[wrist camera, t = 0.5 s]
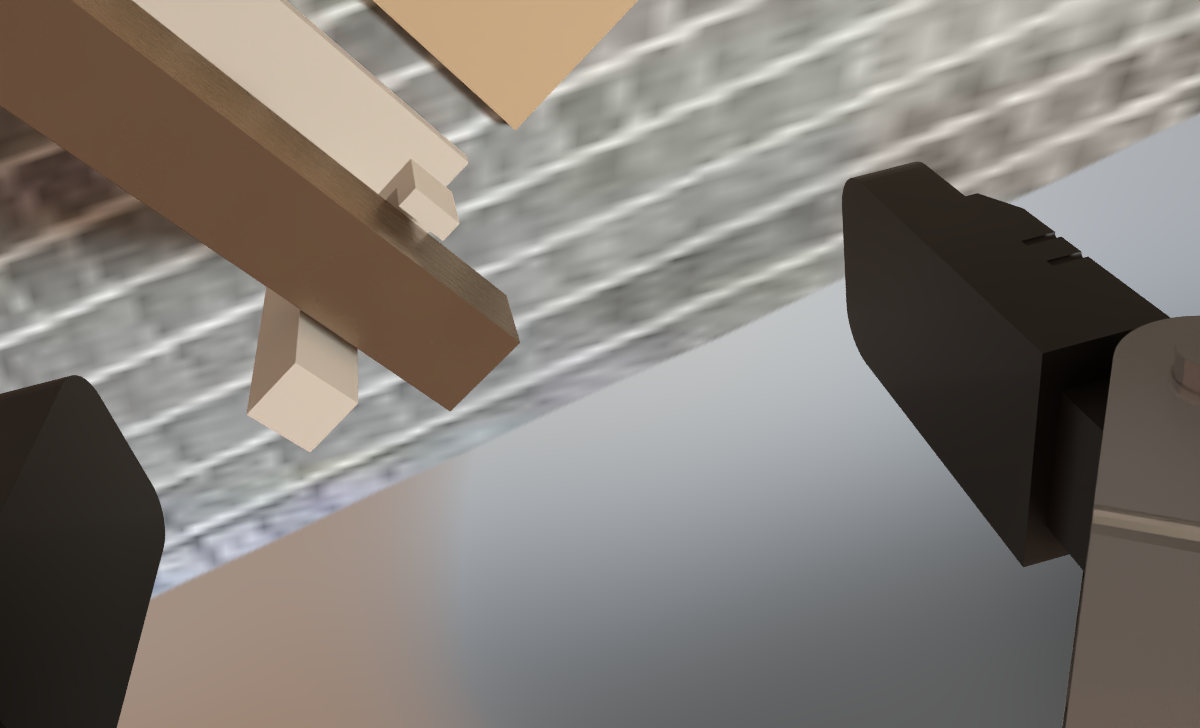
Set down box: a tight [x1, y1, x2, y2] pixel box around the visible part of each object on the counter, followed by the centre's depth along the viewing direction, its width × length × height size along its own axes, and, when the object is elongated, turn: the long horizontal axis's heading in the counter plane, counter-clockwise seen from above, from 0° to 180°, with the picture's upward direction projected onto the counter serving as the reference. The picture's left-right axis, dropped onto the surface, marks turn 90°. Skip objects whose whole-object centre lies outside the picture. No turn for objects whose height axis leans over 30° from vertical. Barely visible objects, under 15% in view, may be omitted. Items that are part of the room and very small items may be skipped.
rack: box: [132, 0, 469, 452], centre depth 27 cm, size 7×19×13 cm, turn 44°
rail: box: [0, 0, 520, 411], centre depth 24 cm, size 3×22×3 cm, turn 44°
